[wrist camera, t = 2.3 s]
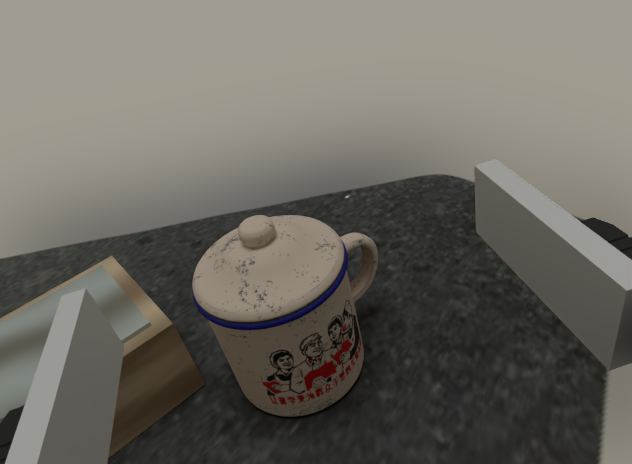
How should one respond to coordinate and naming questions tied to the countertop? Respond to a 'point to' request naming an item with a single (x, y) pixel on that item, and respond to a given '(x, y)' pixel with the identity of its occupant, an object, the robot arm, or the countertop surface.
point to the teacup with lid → (286, 310)
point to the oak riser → (138, 358)
